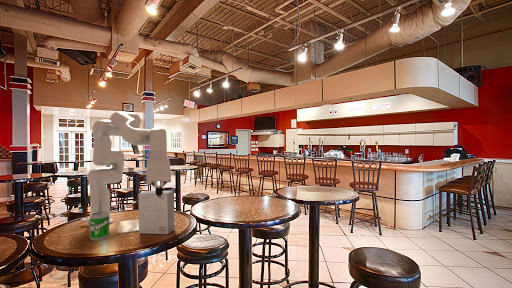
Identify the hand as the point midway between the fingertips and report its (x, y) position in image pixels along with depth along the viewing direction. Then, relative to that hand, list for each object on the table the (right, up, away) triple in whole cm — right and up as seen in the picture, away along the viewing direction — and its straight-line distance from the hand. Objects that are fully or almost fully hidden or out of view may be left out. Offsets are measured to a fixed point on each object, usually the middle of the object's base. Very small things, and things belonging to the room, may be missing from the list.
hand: (159, 196), depth 111 cm
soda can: (-30, -21, +5) cm, 37 cm away
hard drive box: (-6, -21, +13) cm, 25 cm away
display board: (-17, -21, +26) cm, 38 cm away
